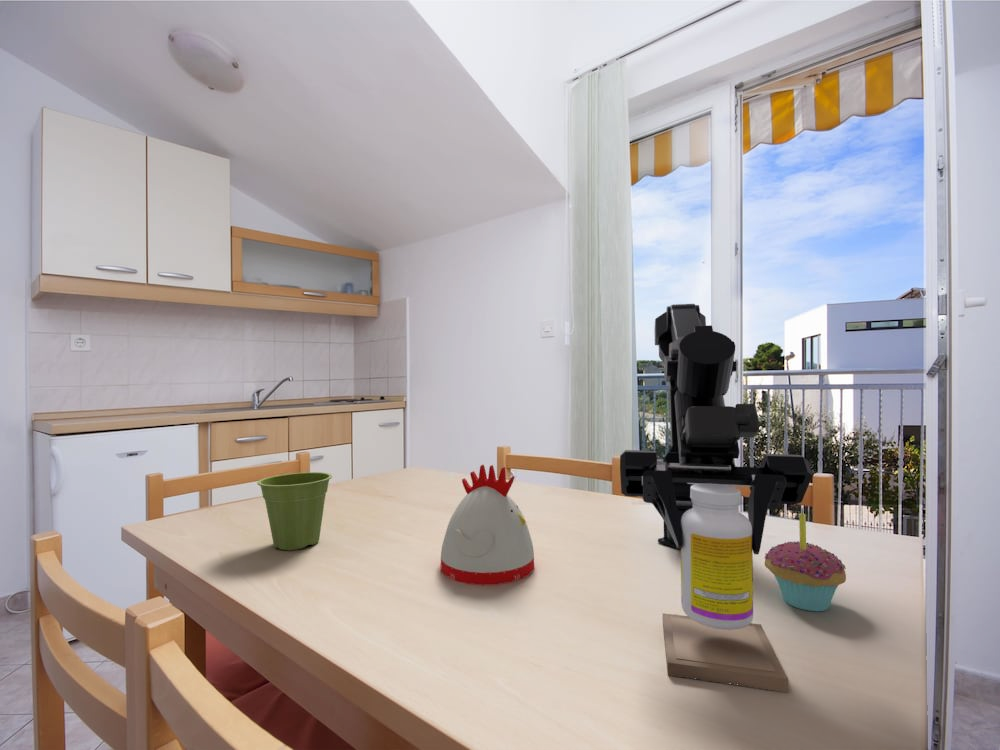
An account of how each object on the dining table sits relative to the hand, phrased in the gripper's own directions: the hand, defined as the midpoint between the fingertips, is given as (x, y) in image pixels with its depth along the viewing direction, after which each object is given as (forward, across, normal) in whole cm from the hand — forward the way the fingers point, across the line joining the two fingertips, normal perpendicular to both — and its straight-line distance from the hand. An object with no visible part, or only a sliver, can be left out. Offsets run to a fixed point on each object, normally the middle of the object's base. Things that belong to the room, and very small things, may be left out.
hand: (717, 549), depth 48 cm
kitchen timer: (-5, -29, +21) cm, 36 cm away
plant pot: (-6, -64, +22) cm, 68 cm away
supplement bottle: (+4, 0, +6) cm, 7 cm away
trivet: (+7, 0, +8) cm, 11 cm away
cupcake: (-3, +12, +19) cm, 23 cm away
